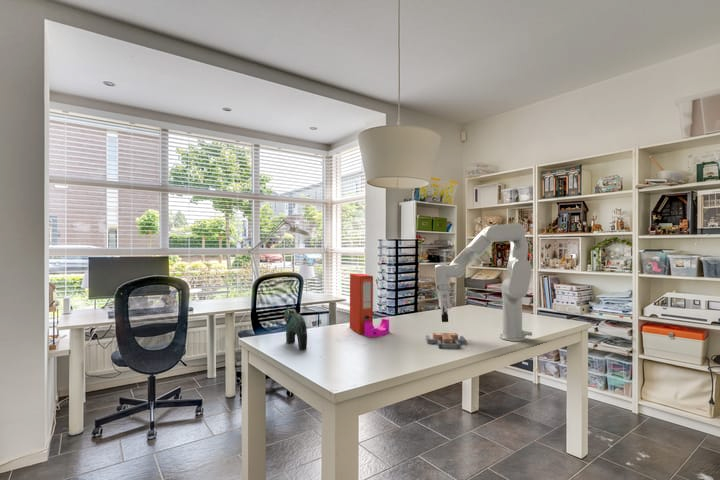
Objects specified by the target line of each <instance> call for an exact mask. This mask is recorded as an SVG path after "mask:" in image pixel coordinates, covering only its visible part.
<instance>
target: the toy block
mask: <svg viewBox="0 0 720 480" xmlns="http://www.w3.org/2000/svg"><path fill="white" fill-rule="evenodd" d="M389 333H390V319H389V318H385V317H384V318H381V321H380V324H379V325H378V326H377V327H375V326H374V322H369V321H367V322H364V334H363V335H364V336H366V337H368V336H369V338H372V337H373V338H376V337H380V336H381V335H382V336H384V335H385V336H386V335H387V334H389ZM382 336H381V337H382Z"/></svg>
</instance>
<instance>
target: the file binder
mask: <svg viewBox="0 0 720 480" xmlns="http://www.w3.org/2000/svg"><path fill="white" fill-rule="evenodd" d="M373 295H374V276H373V275H370V274H365V273H350V274H349V328H350V329H351V330H352V331H354V332H355V333H357V335H362V334H363V335H364V322H367V321H369V322H373V320H374V319H373V318H374V315H373V314H374V296H373ZM373 323H374V322H373Z"/></svg>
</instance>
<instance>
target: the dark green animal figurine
mask: <svg viewBox="0 0 720 480" xmlns="http://www.w3.org/2000/svg"><path fill="white" fill-rule="evenodd" d="M292 307H293V308H290V307H288V306H286V309H285V311H284V313H283V314H284V315H283V316H284V317H283V319H284V321H285V323H286V332H285V339H286V340H285V343H287V342H288V343H287V344H293V343H292V342H295V343H296V338H297V344H298V345H297V346H298V350H299V349H300V350H299V351H305V350H304V349H306V350H307V349H308V348H307V347H308V346H307V345H308V333H307V332H308V330H307V324H306V321H305V318H304V317H303V316H302V315H301V314H300V313H299V312H297V311H296V305H295V304H292Z"/></svg>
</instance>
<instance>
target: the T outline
mask: <svg viewBox="0 0 720 480" xmlns="http://www.w3.org/2000/svg"><path fill="white" fill-rule="evenodd" d="M425 340H426V344H429V345H430V344H432V345H436V346H437V347H438V349H444V350H445V349H449V350H452V349H454V350H455V349H457V350H459V349H461V345H467V339H466V338H465V336H463V335H459V338H458V339H454V343H453V344H448V343H441V341H440V339H433V338H431V337H430V336H429V335H428V334H426V335H425Z"/></svg>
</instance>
